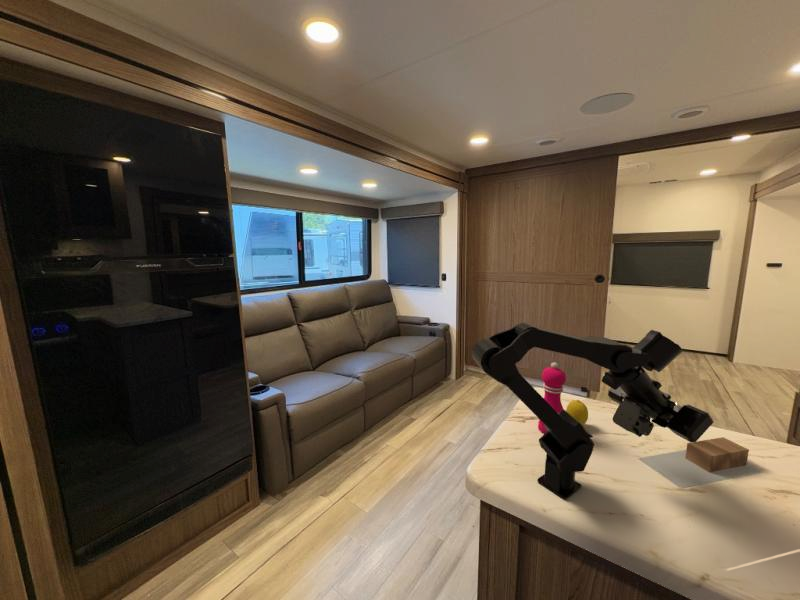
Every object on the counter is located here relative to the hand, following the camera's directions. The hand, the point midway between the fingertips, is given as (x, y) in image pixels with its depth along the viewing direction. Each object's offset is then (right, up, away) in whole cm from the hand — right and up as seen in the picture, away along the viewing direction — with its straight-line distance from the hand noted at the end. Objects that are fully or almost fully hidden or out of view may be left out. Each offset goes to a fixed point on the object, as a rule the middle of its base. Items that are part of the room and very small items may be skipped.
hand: (672, 427), depth 70 cm
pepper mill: (-18, -9, +19) cm, 27 cm away
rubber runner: (+9, -10, +4) cm, 14 cm away
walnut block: (+9, -8, +3) cm, 12 cm away
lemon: (-10, -8, +21) cm, 24 cm away
